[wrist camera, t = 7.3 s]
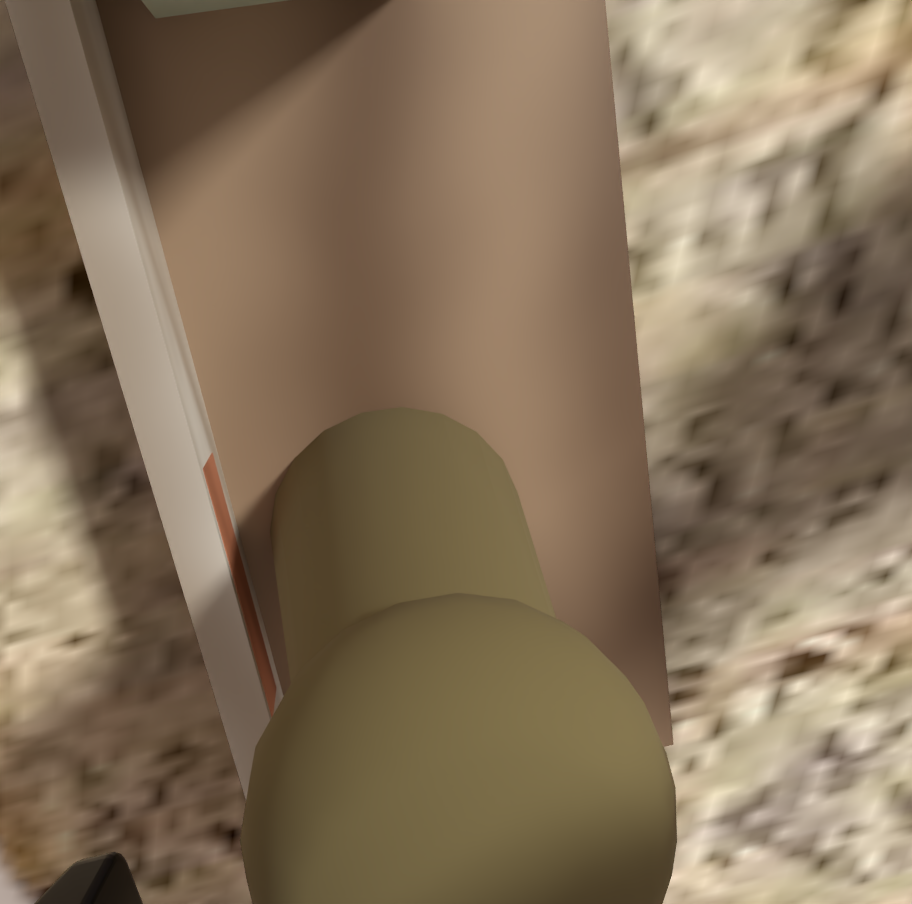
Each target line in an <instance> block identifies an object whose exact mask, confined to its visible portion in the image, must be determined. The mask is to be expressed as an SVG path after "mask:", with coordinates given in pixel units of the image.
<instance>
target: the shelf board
mask: <svg viewBox="0 0 912 904" xmlns="http://www.w3.org/2000/svg"><path fill="white" fill-rule="evenodd" d="M5 3H6V7H7V10H8V13H9V17H10V20H11V23H12V27H13V30H14V33H15V36H16V40H17V43H18V46H19V50H20V53H21V56H22V60H23V63H24V66H25V70H26V73H27V76H28V80H29V83H30V86H31V90H32V93H33V96H34V99H35V103H36V106H37V109H38V113H39V116H40V119H41V123H42V126H43V129H44V133H45V136H46V139H47V143H48V146H49V149H50V153H51V156H52V159H53V162H54V166H55V169H56V172H57V176H58V179H59V182H60V186H61V189H62V192H63V196H64V199H65V202H66V206H67V209H68V212H69V216H70V219H71V222H72V225H73V229H74V232H75V235H76V239H77V242H78V245H79V249H80V252H81V255H82V259H83V262H84V265H85V269H86V272H87V275H88V279H89V282H90V285H91V288H92V292H93V295H94V298H95V302H96V305H97V308H98V312H99V315H100V318H101V322H102V325H103V328H104V332H105V335H106V338H107V341H108V345H109V348H110V351H111V355H112V358H113V361H114V365H115V368H116V371H117V375H118V378H119V381H120V385H121V388H122V391H123V395H124V398H125V401H126V404H127V408H128V411H129V414H130V418H131V421H132V424H133V428H134V431H135V434H136V438H137V441H138V444H139V448H140V451H141V454H142V458H143V461H144V464H145V467H146V471H147V474H148V477H149V481H150V484H151V487H152V491H153V494H154V497H155V501H156V504H157V507H158V511H159V514H160V517H161V521H162V524H163V527H164V530H165V534H166V537H167V540H168V544H169V547H170V550H171V554H172V557H173V560H174V564H175V567H176V570H177V574H178V577H179V580H180V584H181V587H182V590H183V593H184V597H185V600H186V603H187V607H188V610H189V613H190V617H191V620H192V623H193V627H194V630H195V633H196V637H197V640H198V643H199V646H200V650H201V653H202V656H203V660H204V663H205V666H206V670H207V673H208V676H209V680H210V683H211V686H212V690H213V693H214V696H215V700H216V703H217V706H218V709H219V713H220V716H221V719H222V723H223V726H224V729H225V733H226V736H227V739H228V743H229V746H230V749H231V753H232V756H233V759H234V763H235V766H236V769H237V772H238V776H239V779H240V782H241V786H242V789H243V792H244V796H245V799H247V792H248V786H249V780H250V774H251V769H252V763H253V758H254V752H255V746H256V745H257V743H258V741H259V739H260V738H261V736H262V734H263V732H264V730H265V729H266V727H267V725H268V723H269V722H270V720H271V718H272V716H273V714H274V713H275V711H276V709H277V707H278V706H279V704H280V702H281V700H282V698H283V697H284V695H285V693H286V691H287V690H288V688H289V686H290V685H291V682H290V674H289V667H288V660H287V653H286V645H285V638H284V631H283V624H282V616H281V609H280V602H279V595H278V587H277V580H276V573H275V566H274V558H273V551H272V544H271V537H270V527H271V521H272V514H273V507H274V501H275V494H276V492H277V490H278V488H279V486H280V485H281V483H282V481H283V479H284V477H285V475H286V473H287V471H288V469H289V468H290V466H291V464H292V462H293V460H294V458H296V457H297V456H298V455H299V454H300V453H301V452H302V451H303V450H304V449H305V448H306V447H307V446H308V445H309V444H310V443H311V442H312V441H313V440H314V439H316V438H317V437H318V436H319V435H320V434H321V433H322V432H323V431H324V430H326V429H328V428H331V427H333V426H335V425H337V424H339V423H341V422H343V421H345V420H347V419H349V418H351V417H353V416H356V415H358V414H360V413H363V412H370V411H377V410H384V409H391V408H398V407H405V408H411V409H417V410H423V411H429V412H435V413H441V414H444V415H445V416H447V417H449V418H451V419H453V420H455V421H457V422H459V423H461V424H463V425H465V426H466V427H468V428H470V429H472V430H474V431H476V432H477V433H478V434H479V435H480V436H481V437H482V438H483V439H484V440H485V441H486V442H487V443H488V444H489V445H490V446H491V447H492V449H493V450H494V451H495V452H496V453H497V454H498V455H499V456H500V457H501V458H502V459H503V461H504V463H505V466H506V468H507V470H508V472H509V474H510V477H511V479H512V481H513V483H514V486H515V488H516V490H517V492H518V495H519V499H520V502H521V505H522V508H523V512H524V515H525V518H526V521H527V525H528V528H529V531H530V534H531V538H532V541H533V544H534V547H535V551H536V554H537V557H538V560H539V564H540V567H541V570H542V573H543V577H544V580H545V583H546V586H547V590H548V593H549V596H550V599H551V603H552V606H553V609H554V612H555V616H556V619H559V620H561V621H563V622H565V623H566V624H568V625H569V626H571V627H572V628H574V629H575V630H577V631H578V632H580V633H581V634H583V635H584V636H586V637H587V638H588V639H589V640H590V641H591V642H592V643H593V644H594V645H595V646H596V647H597V648H598V649H599V650H600V651H601V652H602V653H603V654H604V655H605V656H606V657H607V658H608V659H609V660H610V661H611V662H612V663H613V664H614V665H615V666H616V667H617V668H618V669H619V670H620V671H621V672H622V673H623V674H624V675H625V676H626V677H627V679H628V680H629V682H630V683H631V684H632V686H633V687H634V689H635V690H636V692H637V693H638V694H639V696H640V697H641V699H642V700H643V702H644V703H645V706H646V708H647V710H648V712H649V715H650V717H651V719H652V722H653V724H654V726H655V729H656V731H657V733H658V735H659V738H660V740H661V742H662V745H663V747H665V746H669V745H673V735H672V724H671V713H670V702H669V691H668V681H667V670H666V659H665V648H664V637H663V626H662V615H661V604H660V593H659V583H658V572H657V561H656V550H655V539H654V528H653V517H652V506H651V496H650V485H649V474H648V463H647V452H646V441H645V430H644V419H643V408H642V398H641V387H640V376H639V365H638V354H637V343H636V332H635V321H634V311H633V300H632V289H631V278H630V267H629V256H628V245H627V234H626V223H625V213H624V202H623V191H622V180H621V169H620V158H619V147H618V136H617V126H616V115H615V104H614V93H613V82H612V71H611V60H610V49H609V38H608V28H607V17H606V6H605V0H288V1H280V2H273V3H266V4H258V5H251V6H243V7H236V8H229V9H221V10H214V11H207V12H199V13H192V14H185V15H177V16H170V17H163V18H155V17H154V16H153V15H152V13H151V12H150V11H149V9H148V8H147V7H146V6H145V4H144V3H143V2H142V1H141V0H5Z"/></svg>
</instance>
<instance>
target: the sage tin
mask: <svg viewBox="0 0 912 904" xmlns="http://www.w3.org/2000/svg"><path fill="white" fill-rule="evenodd" d="M141 1H142V2H143V3H144V4H145V6H146V7H147V8H148V9H149V11H150V12H151V13H152V15H153V16H154V17H155V18H163V17H170V16H177V15H185V14H192V13H199V12H207V11H214V10H221V9H229V8H236V7H243V6H251V5H258V4H266V3H273V2H280V1H288V0H141Z"/></svg>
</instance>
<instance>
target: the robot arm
mask: <svg viewBox="0 0 912 904" xmlns="http://www.w3.org/2000/svg"><path fill="white" fill-rule="evenodd" d="M35 904H143V903H142V900H141V898H140V895H139V893H138V890H137V887H136V885H135V882H134V880H133V877H132V874H131V872H130V869H129V866H128V864H127V862H126V860H125V858H124V857H123V856H122V855H121V854H119V853H116V852H110V853H106V854H102V855H98V856H94V857H90V858H86V859H82V860H80V861H77V862H76V863H74V864H73V865H72V866H71V867H69V868H68V869H67V870H66V871H65V872H64V873H63V875H62V876H61V877H60V878H59V879H58V880H57V881H56V882H55V883H54V884H53V885H52V886H51V887H50V888H49V889H48V890H47V891H46V892H45V893H44V894H43V895H42V896H41V897H40V898H39V899H38V900H37V902H36V903H35Z"/></svg>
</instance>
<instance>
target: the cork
mask: <svg viewBox="0 0 912 904" xmlns="http://www.w3.org/2000/svg"><path fill="white" fill-rule="evenodd" d="M270 537H271V544H272V551H273V558H274V566H275V573H276V580H277V587H278V595H279V602H280V609H281V616H282V624H283V631H284V638H285V645H286V653H287V660H288V667H289V674H290V682H291V685H290V686H289V688H288V690H287V691H286V693H285V695H284V697H283V698H282V700H281V702H280V704H279V706H278V707H277V709H276V711H275V713H274V714H273V716H272V718H271V720H270V722H269V723H268V725H267V727H266V729H265V730H264V732H263V734H262V736H261V738H260V739H259V741H258V743H257V745H256V746H255V752H254V758H253V763H252V769H251V774H250V780H249V786H248V792H247V799H246V805H245V811H244V818H243V824H242V830H241V836H240V844H241V850H242V856H243V861H244V867H245V873H246V879H247V883H248V887H249V891H250V895H251V899H252V903H253V904H662V903H663V900H664V897H665V894H666V891H667V888H668V885H669V882H670V879H671V876H672V870H673V863H674V857H675V850H676V843H677V828H676V794H675V784H674V781H673V777H672V773H671V769H670V766H669V762H668V758H667V755H666V752H665V749H664V747H663V745H662V742H661V740H660V738H659V735H658V733H657V731H656V729H655V726H654V724H653V722H652V719H651V717H650V715H649V712H648V710H647V708H646V706H645V703H644V702H643V700H642V699H641V697H640V696H639V694H638V693H637V692H636V690H635V689H634V687H633V686H632V684H631V683H630V682H629V680H628V679H627V677H626V676H625V675H624V674H623V673H622V672H621V671H620V670H619V669H618V668H617V667H616V666H615V665H614V664H613V663H612V662H611V661H610V660H609V659H608V658H607V657H606V656H605V655H604V654H603V653H602V652H601V651H600V650H599V649H598V648H597V647H596V646H595V645H594V644H593V643H592V642H591V641H590V640H589V639H588V638H587V637H586V636H584V635H583V634H581V633H580V632H578V631H577V630H575V629H574V628H572V627H571V626H569V625H568V624H566V623H565V622H563V621H561V620H559V619H556V616H555V612H554V609H553V606H552V603H551V599H550V596H549V593H548V590H547V586H546V583H545V580H544V577H543V573H542V570H541V567H540V564H539V560H538V557H537V554H536V551H535V547H534V544H533V541H532V538H531V534H530V531H529V528H528V525H527V521H526V518H525V515H524V512H523V508H522V505H521V502H520V499H519V495H518V492H517V490H516V488H515V486H514V483H513V481H512V479H511V477H510V474H509V472H508V470H507V468H506V466H505V463H504V461H503V459H502V458H501V457H500V456H499V455H498V454H497V453H496V452H495V451H494V450H493V449H492V447H491V446H490V445H489V444H488V443H487V442H486V441H485V440H484V439H483V438H482V437H481V436H480V435H479V434H478V433H477V432H476V431H474V430H472V429H470V428H468V427H466V426H465V425H463V424H461V423H459V422H457V421H455V420H453V419H451V418H449V417H447V416H445V415H444V414H441V413H435V412H429V411H423V410H417V409H411V408H405V407H398V408H391V409H384V410H377V411H370V412H363V413H360V414H358V415H356V416H353V417H351V418H349V419H347V420H345V421H343V422H341V423H339V424H337V425H335V426H333V427H331V428H328V429H326V430H324V431H323V432H322V433H321V434H320V435H319V436H318V437H317V438H316V439H314V440H313V441H312V442H311V443H310V444H309V445H308V446H307V447H306V448H305V449H304V450H303V451H302V452H301V453H300V454H299V455H298V456H297V457H296V458H294V460H293V462H292V464H291V466H290V468H289V469H288V471H287V473H286V475H285V477H284V479H283V481H282V483H281V485H280V486H279V488H278V490H277V492H276V494H275V501H274V507H273V514H272V521H271V527H270Z"/></svg>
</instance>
